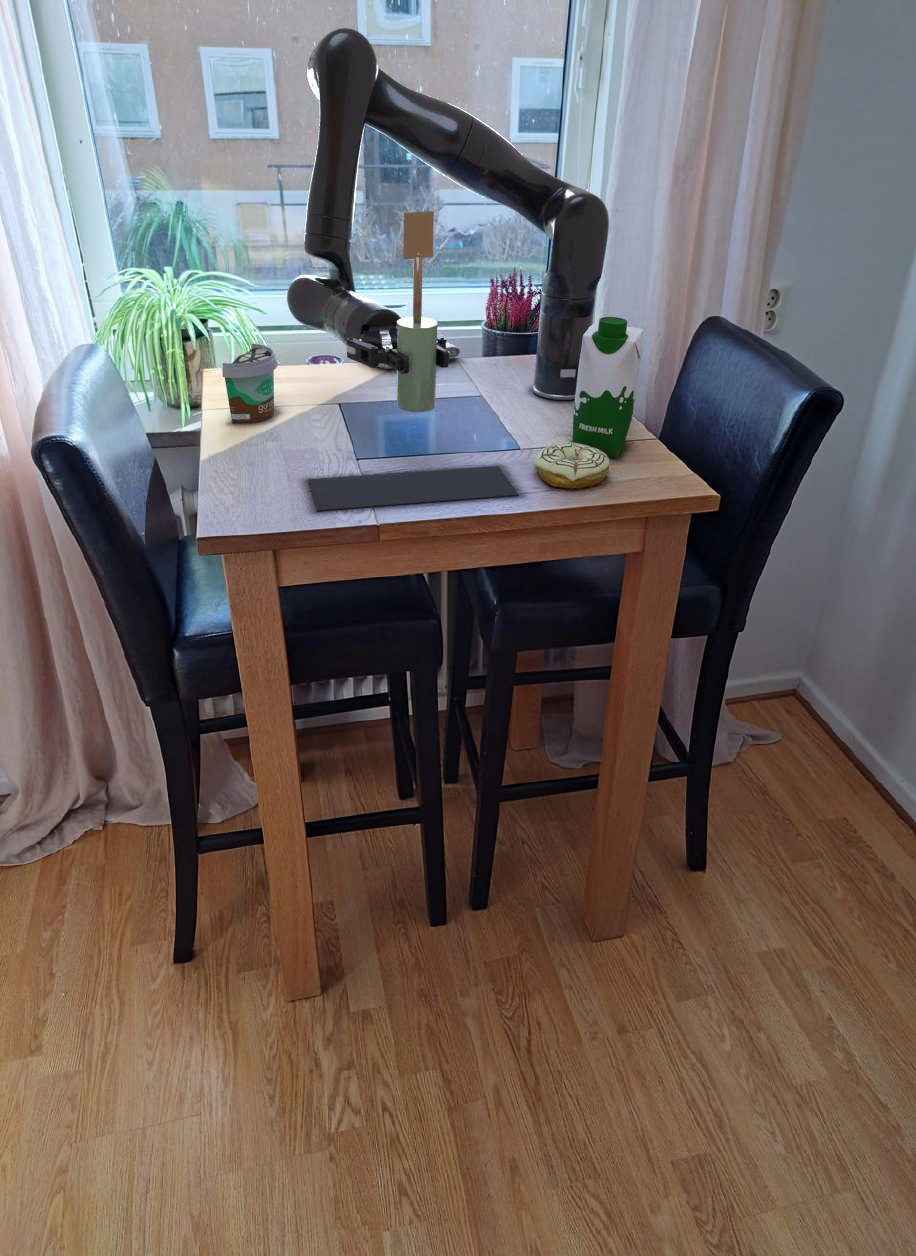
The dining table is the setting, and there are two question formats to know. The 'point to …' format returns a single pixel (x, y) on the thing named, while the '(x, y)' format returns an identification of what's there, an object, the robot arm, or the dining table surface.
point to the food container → (251, 385)
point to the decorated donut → (571, 465)
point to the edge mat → (410, 488)
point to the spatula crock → (417, 322)
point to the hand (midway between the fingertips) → (426, 363)
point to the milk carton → (607, 384)
